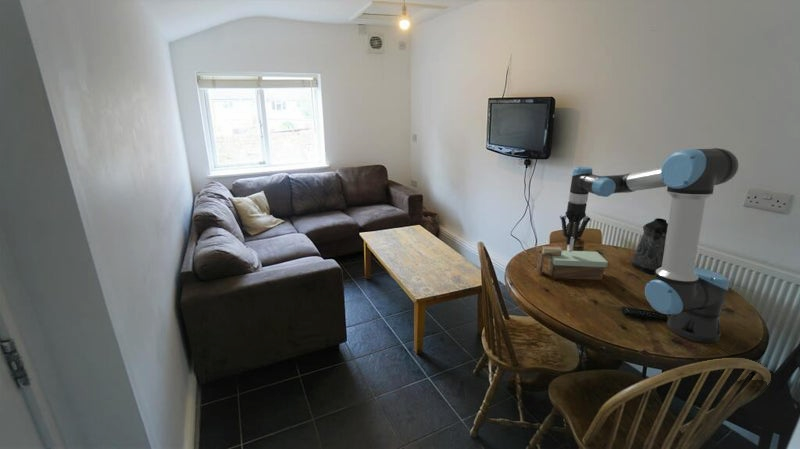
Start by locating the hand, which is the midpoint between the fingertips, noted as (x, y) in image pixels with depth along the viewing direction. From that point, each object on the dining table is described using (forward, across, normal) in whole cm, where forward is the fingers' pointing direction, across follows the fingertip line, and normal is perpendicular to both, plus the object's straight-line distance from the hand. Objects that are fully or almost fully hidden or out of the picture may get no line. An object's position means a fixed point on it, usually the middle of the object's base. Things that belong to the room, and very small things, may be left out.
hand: (569, 250), depth 175 cm
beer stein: (+12, -44, -10) cm, 46 cm away
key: (+2, +8, 0) cm, 8 cm away
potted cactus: (+12, -9, -20) cm, 25 cm away
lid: (+5, -4, 0) cm, 6 cm away
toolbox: (+12, -1, 0) cm, 12 cm away
